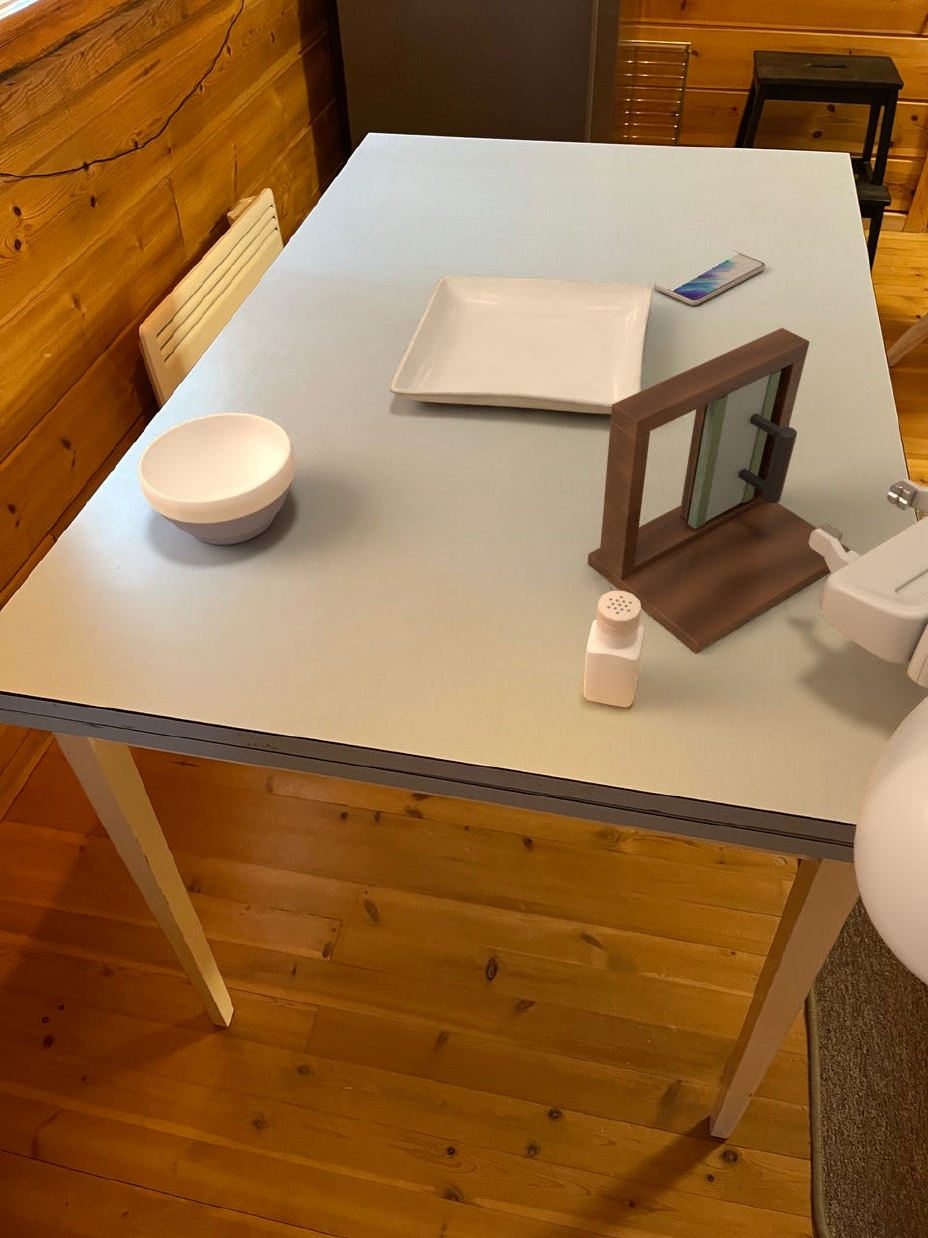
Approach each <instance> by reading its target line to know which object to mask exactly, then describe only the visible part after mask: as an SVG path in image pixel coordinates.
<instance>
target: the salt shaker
mask: <svg viewBox="0 0 928 1238" xmlns="http://www.w3.org/2000/svg"><path fill="white" fill-rule="evenodd" d="M641 615H642V608H641V604H640V601H639V600H638V599H637V598H636V597H635V596H634V595H633V594H631V593H628V592H625V591H621V590H610V591H609V592H606V593H604V594H602V595H601V597H600V598H599V600H598V601H597V607H596V618H595V619H594V620H593V621H592V623H591V626H590V627H591V628H590V630H589V631H590V632H589V634H588V639H587V643H586V649H585V650H586V651H585V663H584V675H583V691H582V692H583V696H584V699H585V700H586V701H589V702H592V703H593V702H594V703H598V704H602V705H603V704H604V705H608V706H609V705H610V706H614V707H621V708H629V707H631V705H632V704H633V703H634V701H635V696H636V692H637V685H638V681H639V674H640V669H641V660H642V654H643V647H644V640H645V639H644V638H645V632H646V629H645V627H644V626H643V625H642V624H641Z"/></svg>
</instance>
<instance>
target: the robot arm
mask: <svg viewBox="0 0 928 1238" xmlns="http://www.w3.org/2000/svg"><path fill="white" fill-rule="evenodd" d="M886 498H887V501H888V502H889V503H890V504H891V505H895V506H896V507H897V508H898V509H899V510H902V511H906V510H908V509H910V508H912V509H914V510H918V511H921V512H925V513H928V486H921V485H920V484H918V483H916V482H914V481H912V480H910V479H909V478H903V479H901V480H898V481H897V482H896V483H894V484H892V485H890V488H889V492H888V493H887V496H886ZM817 528H818V529H816V530H814V531H812V532H811V536H810V539H809V546H810V547H811V548H812V549H813V550H815V551H816V552H818V553H819V554H821V555H822V556H824V557H825V558H824V559H825V561H826V563H827V565H828V568H829V570H830V572H829V573H830V575H829V576H828V577H827V578H826V582H825V584H824V587H823V590H822V593H821V596H820V599H819V609H820V612H821V615H822V618H823V619H824V620H825V621H826V622H827V623H828V624H829V625H830V626H831V627H832V628H834V629H835V630H837V631H838V632H839V633H841V634H842V635H843V636H845V637H846V638H847V639H849V640H850V641H852V642H854V643H855V644H856V645H858V646H860V647H861V648H863V649H864V650H866V651H868V652H869V653H871V654H872V655H874V656H876V657H877V658H880V659H882V660H883V661H886V662H889V663H893V664H894V663H895V664H908V663H909V665H908V668H907V672H906V673H907V676H908V677H909V678H910V679H911V681H913V682H915V683H916V684H917V685H919V686H921V687H922V688H926V689H928V515H927V516H925V517H923V518H921V519H920V520H918V521H917V522H915V523H913V524H911V525H910V526H909V527H907V528H905V529H904V530H902V531H900V532H898V533H896V534H895V535H894V536H892V537H890V538H888V539H887V540H885V541H884V542H882V543H880V544H879V545H877V546H876V547H874V548H872V549H871V550H869V551H867V552H866V553H864V554H862V555H861V554H860V553H858V552H857V551H855V550H853V549H850V551H848V552H847V553H846V552H845V550H844V548H843V547H842V545H843V544H842V543H841V541H842V538H843V534H844V533H843V532H842V531H840V530H839V529H837V528H834V527H833V525H831V524H829V523H825V524H823V525H821V526H820V527H817ZM840 543H841V544H842V545H841V544H840ZM862 795H863V796H862V799H861V802H860V805H859V810H858V815H857V819H856V826H855V833H854V837H853V839H854V840H853V864H854V871H855V879H856V884H857V886H858V887H857V888H858V892H859V894H860V898H861V901H862V904H863V906H864V908H865V911H866V913H867V915H868V918H869V919H870V921H871V923H872V925H873V926H874V928H875V930H876V931H877V933H878V935H879V936H880V938H881V939H882V940H883V942H884V943H885V944H886V946H887V947H888V948H889V950H890V951H891V952H892V953H893V954H894V956H895V957H897V959H898V960H899V961H900V962H901V963H902V964H903V965H904V966H905V968H907V970H909V971H910V972H911V973H912V974H913V975H914V976H915V977H917V978H918V979H919V980H921V982H923V983H924V984H925V985H926V986H928V695H927V696H926V697H925V698H923V699H922V700H921V702H920V703H919V704H918V705H916V706H915V707H914V708H913V710H912V711H910V712H909V713H908V714H907V716H906V717H905V718H904V719H903V720H902V721H901V722H900V724H899V726H897V728H896V729H895V731H894V732H893V733H892V735H891V736H890V738H889V739H888V741H887V742H886V744H885V745H884V748H883V749H882V751H881V753H880V754H879V756H878V758H877V760H876V762H875V764H874V766H873V769H872V770H871V772H870V775H869V778H868V780H867V783H866V786H865V789H864V792H863V794H862Z"/></svg>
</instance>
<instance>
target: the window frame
mask: <svg viewBox="0 0 928 1238" xmlns="http://www.w3.org/2000/svg"><path fill="white" fill-rule="evenodd" d="M809 347H810V340H808V339H806V338H804V337H802V336H800V335H798V334H796V333H795V332H792V331H790V330H788V329H786V328H784V327H781V328H779V329H776V330H774V331H772V332H770V333H767V334H766V335H762V336H760V337H759V338H756V339H754V340H752V341H749V342H747V343H745V344H743V345H740V346H738V347H736V348H734V349H732V350H730V351H727V352H725V353H722V354H721V355H719V356H716V357H714V358H712V359H709V360H708V361H706V362H703V363H701V364H699V365H696V366H694V367H692V368H690V369H687V370H685V371H682V372H680V373H679V374H677V375H674V376H672V377H669V378H667V379H665V380H663V381H661V382H658V383H656V384H654V385H652V386H650V387H648V388H645V389H643V390H641V392H639V393H636V394H634V395H632V396H630V397H628V398H625V399H623V400H621V401H619V402H616V403H614V404H612V409H611V414H610V423H609V424H610V426H609V436H608V446H607V447H608V450H607V461H606V474H605V485H604V486H605V487H604V496H603V497H604V500H603V508H602V509H603V510H602V522H601V534H600V545H599V547H597V548H596V549H595V550H592V551H591V552H589V553H588V554H587V564H588V565H589V566H590V567H592V569H594V570H595V571H596V572H597V573H599V574H600V575H601V576H602V577H603V578H605V579H606V580H607V581H608V582H610V583H611V584H612V585H613V586H614V587H615V588H617V589H618V591H625V592H628V593H631V594H633V595H634V596H635V597H636V598H637V599H638V600H639V601H640V604H641V610H643V611H644V612H645V613H647V614H648V615H649V616H650V617H651V618H652V619H654V620H656V622H657V623H658V624H659V625H661V626H662V627H664V629H666V630H667V631H669V632H670V633H671V634H672V635H673V636H675V637H676V638H677V639H678V640H679V641H681V642H682V643H683V644H685V646H686V647H687V648H689V649H690V650H691V651H692V652H693V653H695V654H697V653H700V651H702V650H705V648H707V647H708V646H710V645H712V644H714V643H715V642H717V641H719V640H720V639H722V638H723V637H725V636H727V635H729V634H730V633H732V632H733V631H735V630H737V629H738V628H740V627H742V626H743V625H745V624H747V623H748V622H750V621H751V620H753V619H755V618H756V617H758V616H760V615H762V614H763V613H765V612H766V611H768V610H770V609H771V608H773V607H775V606H776V605H778V604H780V603H781V602H783V601H784V600H786V599H787V598H789V597H791V596H793V595H794V594H796V593H798V592H800V591H801V590H802V589H804V588H806V587H808V586H810V585H811V584H812V583H814V582H816V581H818V580H819V579H821V578H822V577H824V576H825V575H827V574H829V573H831V572H830V570H829V568H828V565H827V563H826V561H825V559H824V558H825V557H824V556H822V555H821V554H819V553H818V552H816V551H815V550H813V549H812V548H811V547H810V546H809V539H810V536H811V532H812V531H814V530H816V529H818V528H819V527H816V526H815V525H813V524H812V523H810V522H809V521H807V520H805V519H804V518H802V517H801V516H799V515H798V514H796V513H795V512H793V511H792V510H790V509H789V508H787V507H786V506H784V505H782V503H779V502H777V503H769V502H766V501H765V500H764V499H763V494H764V493H762V492H761V491H759V490H758V489H756V488H755V490H754V494H753V498H752V499H751V500H749V501H747V502H745V503H743V502H741V503H740V504H738V505H736V506H734V507H732V508H730V509H728V510H727V511H725V512H723V513H721V514H719V515H717V516H715V517H714V518H712V519H710V520H708V521H706V522H705V524H704V525H702V526H700V527H699V528H697V529H694V528H693V527H691V526H690V525H689V524H688V520H689V514H690V508H691V502H692V496H693V490H694V485H695V479H696V473H697V467H698V461H699V455H700V449H701V443H702V437H703V431H704V425H705V419H706V413H707V407H708V404H709V403H711V402H713V401H715V400H717V399H719V398H721V397H723V396H726V395H728V394H730V393H732V392H734V391H736V390H738V389H740V388H742V387H744V386H747V385H749V384H751V383H753V382H755V381H757V380H759V379H761V378H763V377H766V376H768V375H770V374H772V373H774V372H776V371H778V370H781V375H780V379H779V384H778V388H777V392H776V397H775V401H774V406H773V410H772V415H771V419H770V422H772V423H774V424H775V425H777V426H779V427H781V428H782V427H790V423H791V419H792V416H793V411H794V408H795V403H796V398H797V395H798V390H799V387H800V381H801V378H802V375H803V370H804V366H805V363H806V358H807V354H808V351H809ZM694 411H695V414H694V422H693V426H692V434H691V439H690V446H689V452H688V453H689V454H688V459H687V465H686V471H685V477H684V485H683V492H682V496H681V503H680V505H679V506H677V507H675V508H673V509H671V510H669V511H667V512H665V513H663V514H661V515H659V516H657V517H656V518H654V519H652V520H650V521H648V522H645V523H644V524H642V525H640V521H641V513H642V504H643V497H644V488H645V479H646V470H647V461H648V453H649V446H650V436H651V431H654V430H656V429H658V428H660V427H662V426H664V425H666V424H669V423H671V422H673V421H675V420H676V419H680V418H681V417H683V416H686V415H687V414H690V413H692V412H694ZM776 439H777V438H775V437H773V436H772V435H770V434H768V433H767V437H766V441H765V446H764V450H763V454H762V459H761V463H760V468H759V472H758V476H757V477H759V478H761V479H762V480H764V481H765V482H766V481H767V477H768V473H769V469H770V464H771V460H772V456H773V452H774V447H775V443H776ZM840 544H841V545H842V547H843V548H844V550H845V552H846V553H847V552H848V551H850V550H851V549H850V548H849V547H847V546H846V545H844V544H843V543H841V542H840Z"/></svg>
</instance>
